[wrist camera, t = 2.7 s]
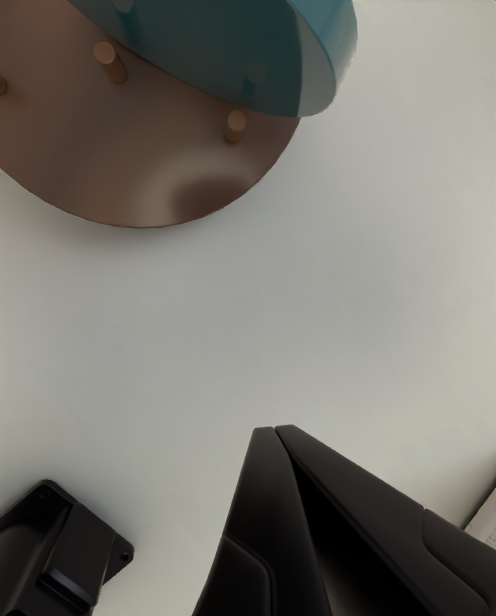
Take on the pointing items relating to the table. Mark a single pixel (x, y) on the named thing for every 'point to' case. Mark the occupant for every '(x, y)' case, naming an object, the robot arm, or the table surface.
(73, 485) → the table surface
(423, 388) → the table surface
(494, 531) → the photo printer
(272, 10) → the dish rack
